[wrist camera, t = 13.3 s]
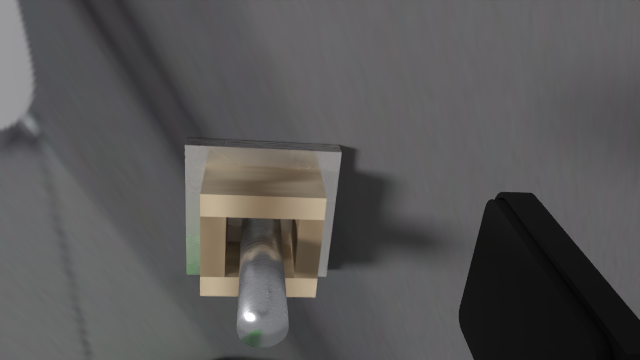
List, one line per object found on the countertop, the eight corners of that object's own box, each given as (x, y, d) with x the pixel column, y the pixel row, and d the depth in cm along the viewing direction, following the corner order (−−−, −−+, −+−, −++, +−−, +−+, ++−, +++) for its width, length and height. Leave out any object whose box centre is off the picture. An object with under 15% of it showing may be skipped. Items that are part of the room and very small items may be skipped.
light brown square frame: (319, 169, 36) (326, 198, 33) (309, 261, 40) (315, 297, 36) (205, 164, 35) (200, 194, 32) (205, 259, 39) (200, 295, 35)
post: (339, 145, 37) (373, 247, 26) (324, 266, 41) (348, 397, 31) (187, 137, 36) (156, 243, 25) (188, 264, 40) (163, 400, 29)
